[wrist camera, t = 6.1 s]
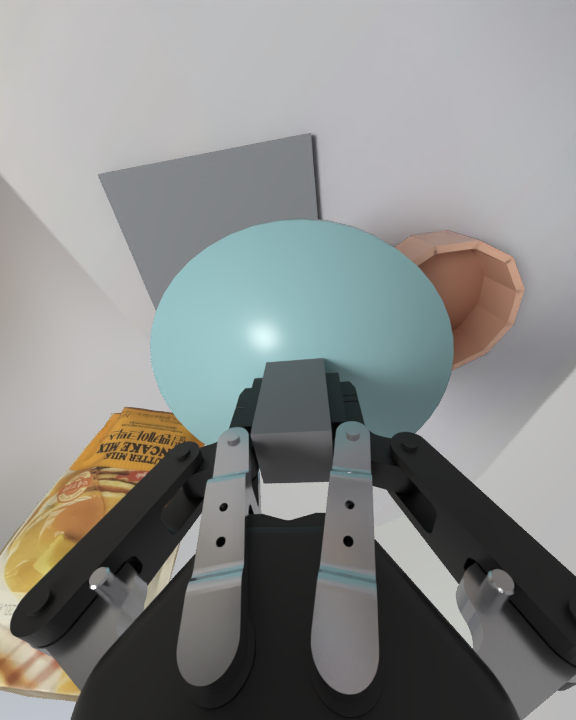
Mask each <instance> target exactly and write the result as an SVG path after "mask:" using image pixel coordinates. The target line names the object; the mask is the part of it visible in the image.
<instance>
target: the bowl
mask: <svg viewBox="0 0 576 720" xmlns="http://www.w3.org/2000/svg"><path fill="white" fill-rule="evenodd" d="M394 248H396V249H397V250H399V251H400V252H401V253H403V254H404V255H405V256H406V257H407V258H408V259H410V260H411V261H412V262H413V263H414V264H416V265H417V266H418V267H419V268H420V270H421V271H422V272H423V273H424V274H425V275H426V277H427V278H428V279H429V280H430V281H431V282H432V284H433V285H434V287H435V289H436V291H437V292H438V294H439V296H440V297H441V299H442V301H443V303H444V306H445V308H446V311H447V313H448V316H449V319H450V323H451V328H452V334H453V346H454V357H453V364H452V370H454V369H456V368H458V367H460V366H462V365H464V364H466V363H468V362H470V361H472V360H474V359H476V358H478V357H480V356H482V355H485V354H487V352H488V351H489V350H490V349H491V348H492V347H493V346H494V345H495V344H496V343H497V342H498V341H499V340H500V339H501V338H502V337H503V335H504V334H505V333H506V332H507V331H508V330H509V329H510V328H511V327H512V326H513V325H514V322H515V319H516V315H517V312H518V309H519V306H520V303H521V300H522V297H523V293H524V290H525V289H524V286H523V283H522V280H521V278H520V275H519V272H518V269H517V266H516V263H515V261H514V258H513V257H512V256H510V255H508V254H506V253H504V252H502V251H500V250H498V249H496V248H494V247H492V246H490V245H488V244H486V243H484V242H482V241H480V240H477V239H474V238H470V237H467V236H464V235H461V234H458V233H455V232H451V231H448V230H445V231H438V232H431V233H424V234H417V235H411V236H409V237H408V238H407V239H405V240H404V241H402V242H401V243H400V244H398V245H397V246H395V247H394Z"/></svg>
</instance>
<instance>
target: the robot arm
mask: <svg viewBox="0 0 576 720" xmlns="http://www.w3.org/2000/svg"><path fill="white" fill-rule="evenodd" d="M325 376H326V385H327V394H328V403H329V412H330V421H331V430H332V447H333V467H332V469H331V471H330V479H329V489H328V497H327V507H326V513H314V514H311V515H307V516H303V517H300V518H297V519H294V520H283V519H279V518H275V517H272V516H268V515H264V514H261V496H260V474H259V464H258V460H257V457H256V453H255V449H254V446H253V442H252V439H251V435H250V434H251V429H252V425H253V420H254V416H255V411H256V407H257V402H258V397H259V393H260V388H261V384H262V379H263V378H254V381H253V385H252V388H245V389H244V390H243V391H242V392H241V394H240V395H239V398H238V401H237V404H236V409H235V411H234V414H233V417H232V420H231V423H230V427H229V429H228V430H226V431H224V432H223V433H222V434H221V435H220V437H219V438H218V441H217V442H215V443H213V444H210V445H207V446H204V447H200V448H199V445H198V444H197V443H195V442H193V441H186V442H183V443H180V444H178V445H176V446H175V447H174V448H173V449H171V450H170V451H169V452H168V453H167V454H166V455H165V456H164V457H163V458H162V459H161V460H160V461H159V462H158V463H157V464H156V465H155V466H154V467H153V468H152V469H151V470H150V471H149V472H148V473H147V474H146V475H145V476H144V477H143V478H142V479H141V480H140V481H139V482H138V483H137V484H136V485H135V486H134V487H133V488H132V489H131V490H130V491H129V492H128V493H127V494H126V495H125V496H124V497H123V498H122V499H121V500H120V501H119V502H118V503H117V504H116V505H115V506H114V507H113V508H112V509H111V510H110V511H109V512H108V513H107V514H106V515H105V516H104V517H103V518H102V519H101V520H100V521H99V522H98V523H97V524H96V525H95V526H94V527H93V528H92V529H91V530H90V531H89V532H88V533H87V534H86V535H85V536H84V537H83V538H82V539H81V540H80V541H79V542H78V543H77V544H76V545H75V546H74V547H73V548H72V549H71V550H70V551H69V552H68V553H67V554H66V555H65V556H64V557H63V558H62V559H61V560H60V561H59V562H58V563H57V564H56V565H55V566H54V567H53V568H52V569H51V570H50V571H49V572H48V573H47V574H46V575H45V576H44V577H43V578H42V579H41V580H40V581H39V582H38V583H37V584H36V585H35V586H34V587H33V588H32V589H31V590H30V591H29V592H28V593H27V594H26V595H25V596H24V597H23V598H22V600H21V601H20V602H19V604H18V605H17V607H16V609H15V611H14V613H13V615H12V618H11V621H10V631H11V633H12V635H13V636H15V637H17V638H19V639H21V640H23V641H25V642H27V643H29V644H30V646H31V647H32V648H34V649H36V650H38V651H40V652H42V653H44V654H46V655H48V656H51V657H53V658H54V659H55V660H56V662H57V663H58V664H59V665H60V667H61V668H62V669H63V670H64V671H65V673H66V674H67V675H68V676H69V678H70V679H71V680H72V681H73V683H74V684H75V685H76V686H77V687H78V689H79V690H80V691H81V692H80V695H79V697H78V700H77V702H76V705H75V707H74V711H73V714H72V717H71V720H523V719H524V718H525V717H526V716H528V715H529V714H530V713H531V712H532V711H533V710H535V708H537V707H538V706H539V705H540V704H542V703H543V702H544V701H545V700H546V699H548V698H549V697H550V696H551V695H552V694H553V693H555V692H556V691H557V690H558V691H562V690H566V689H569V688H570V687H572V686H574V685H576V576H575V575H573V574H572V573H571V572H570V571H569V570H568V569H567V568H566V567H565V566H564V565H562V564H561V563H560V562H559V561H558V560H557V559H556V558H555V557H554V556H552V555H551V554H550V553H549V552H548V551H547V550H546V549H545V548H544V547H543V546H542V545H540V544H539V543H538V542H537V541H536V540H535V539H534V538H533V537H532V536H531V535H529V534H528V533H527V532H526V531H525V530H524V529H523V528H522V527H521V526H519V525H518V524H517V523H516V522H515V521H514V520H513V519H512V518H511V517H510V516H508V515H507V514H506V513H505V512H504V511H503V510H502V509H501V508H499V507H498V506H497V505H496V504H495V503H494V502H493V501H492V500H491V499H490V498H489V497H487V496H486V495H485V494H484V493H483V492H482V491H481V490H480V489H479V488H478V487H476V486H475V485H474V484H473V483H472V482H471V481H470V480H469V479H468V478H466V477H465V476H464V475H463V474H462V473H461V472H460V471H459V470H458V469H457V468H455V467H454V466H453V465H452V464H451V463H450V462H449V461H448V460H447V459H446V458H444V457H443V456H442V455H441V454H440V453H439V452H438V451H437V450H436V449H434V448H433V447H432V446H431V445H430V444H429V443H428V442H427V441H426V440H425V439H423V438H422V437H421V436H419V435H417V434H415V433H411V432H399V433H397V434H395V435H394V436H393V437H392V438H387V437H383V436H379V435H376V434H374V433H372V432H371V431H370V430H368V428H367V427H366V426H365V423H364V420H363V416H362V412H361V408H360V404H359V400H358V396H357V392H356V388H355V386H354V385H353V384H352V383H351V382H350V381H346V382H340V378H339V373H338V372H336V373H325ZM373 486H375V487H379V488H382V489H386V490H387V491H388V493H389V494H390V495H391V497H392V498H393V499H394V501H395V502H396V503H397V505H398V506H399V507H400V508H401V510H402V511H403V512H404V514H405V515H406V516H407V518H408V519H409V520H410V521H411V523H412V524H413V525H414V527H415V528H416V529H417V530H418V532H419V533H420V534H421V536H422V537H423V538H424V539H425V541H426V542H427V543H428V545H429V546H430V547H431V549H432V550H433V551H434V552H435V554H436V555H437V556H438V558H439V559H440V560H441V562H442V563H443V564H444V566H446V568H447V569H448V571H449V572H450V573H451V575H452V576H453V577H454V578H455V580H456V581H457V582H458V584H459V585H458V588H457V591H456V600H457V605H458V608H459V610H460V612H461V614H462V616H463V618H464V619H465V621H466V623H467V625H468V627H469V629H470V632H471V635H472V640H473V649H472V648H471V646H469V644H468V643H467V642H466V641H465V640H464V639H463V637H462V636H461V635H460V634H459V633H458V632H457V631H456V630H455V628H454V627H453V626H452V625H451V624H450V623H449V622H448V621H447V620H446V618H445V617H443V615H442V614H441V613H440V612H439V611H438V609H437V608H436V607H435V606H434V605H433V604H432V603H431V602H430V600H429V599H428V598H427V597H426V596H425V595H424V594H423V593H422V592H421V590H420V589H419V588H418V587H417V586H416V585H415V584H414V582H413V581H412V580H411V579H410V578H409V577H408V576H407V575H406V573H404V571H403V570H402V569H401V568H400V567H399V566H398V564H396V562H395V561H394V560H393V559H392V558H391V557H390V556H389V554H388V553H387V552H386V551H385V550H384V549H383V548H382V547H381V546H380V544H379V543H378V542H377V541H376V540H375V539H374V515H373ZM180 488H181V489H180ZM179 489H180V490H179ZM178 490H179V492H178V493H177V491H178ZM176 493H177V494H176ZM175 494H176V495H175ZM174 495H175V496H174ZM173 496H174V497H173ZM172 497H173V499H172V500H171V498H172ZM170 500H171V501H170ZM169 501H170V502H169ZM168 502H169V503H168ZM167 503H168V504H167ZM166 504H167V506H166V507H165V505H166ZM164 507H165V508H164ZM163 508H164V509H163ZM201 513H202V516H201V523H200V529H199V537H198V543H197V550H196V554H195V555H194V556H193V557H192V558H191V559H190V560H189V561H188V562H187V564H186V565H185V566H184V567H183V568H182V569H181V570H180V571H179V572H178V573H177V574H176V575H175V577H174V578H173V579H172V580H171V581H170V582H169V583H168V584H167V585H166V586H165V588H164V589H163V590H162V591H161V592H160V593H159V594H158V595H157V596H156V597H155V599H154V600H153V601H152V602H151V603H150V604H149V605H148V606H147V607H146V608H145V610H144V603H145V600H146V597H147V591H148V588H147V586H148V585H149V583H150V582H151V581H152V579H153V578H154V577H155V575H156V574H157V572H158V571H159V570H160V568H161V567H162V566H163V564H164V563H165V562H166V560H167V559H168V558H169V556H170V555H171V553H172V552H173V551H174V549H175V548H176V547H177V545H178V544H179V543H180V541H181V540H182V538H183V537H184V536H185V534H186V533H187V532H188V530H189V529H190V528H191V526H192V525H193V523H194V522H195V521H196V519H197V518H198V517H199V515H200V514H201ZM143 610H144V611H143Z"/></svg>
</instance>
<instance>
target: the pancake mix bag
mask: <svg viewBox="0 0 576 720" xmlns="http://www.w3.org/2000/svg"><path fill="white" fill-rule="evenodd" d="M186 441H193V442H195V443H197V444H198V445H199V448H200V447H204V445H205V444H204V443H203V442H201V441H200V440H198V439H197V438H196V437H195V436H194V435H193V434H192V433H190V432H189V431H188V430H187V429H186V428H185V427H184V426H183V424H182V423H181V422H180V421H179V420H178V419H177V418H176V416H175V415H174V414H173V413H170V412H163V411H153V410H147V409H141V408H132V407H125V408H124V409H123V411H122V413H115V414H111V416H110V418H109V420H108V421H107V423H106V425H105V426H104V428H102V429H101V431H99V433H97V435H96V436H95V437H94V438H93V439H92V440H91V442H90V443H89V444H88V445H87V446H86V447H85V448H84V450H83V451H82V452H81V453H80V455H79V456H78V457H77V458H76V460H75V461H74V462H73V463H72V464H71V466H70V467H69V468H68V469H67V470H66V472H65V473H64V474H63V475H62V476H61V477H60V478H59V479H58V480H57V482H56V483H55V484H54V485H53V487H52V488H51V489H50V490H49V491H48V492H47V494H46V495H45V496H44V497H43V498H42V499H41V500H40V501H39V503H38V504H37V505H36V507H35V508H34V509H33V511H32V512H31V514H30V515H29V516H28V518H27V519H26V520H25V521H24V522H23V524H22V525H21V526H20V527H19V528H18V529H17V530H16V532H15V533H14V535H13V536H12V537H11V539H10V540H9V541H8V542H7V544H6V545H5V547H4V548H3V550H2V551H1V552H0V690H2V691H6V692H11V693H15V694H19V695H23V696H27V697H36V698H43V699H54V700H65V701H75V702H77V700H78V697H79V695H80V692H81V691H80V690H79V689H78V687H77V686H76V685H75V684H74V683H73V681H72V680H71V679H70V678H69V676H68V675H67V674H66V673H65V671H64V670H63V669H62V668H61V667H60V665H59V664H58V663H57V662H56V660H55V659H54V658H53V657H51V656H48V655H46V654H44V653H42V652H40V651H38V650H36V649H34V648H32V647H31V646H30V644H29V643H27V642H25V641H23V640H21V639H19V638H17V637H15V636H13V635H12V633H11V631H10V621H11V618H12V615H13V613H14V611H15V609H16V607H17V605H18V604H19V602H20V601H21V600H22V598H23V597H24V596H25V595H26V594H27V593H28V592H29V591H30V590H31V589H32V588H33V587H34V586H35V585H36V584H37V583H38V582H39V581H40V580H41V579H42V578H43V577H44V576H45V575H46V574H47V573H48V572H49V571H50V570H51V569H52V568H53V567H54V566H55V565H56V564H57V563H58V562H59V561H60V560H61V559H62V558H63V557H64V556H65V555H66V554H67V553H68V552H69V551H70V550H71V549H72V548H73V547H74V546H75V545H76V544H77V543H78V542H79V541H80V540H81V539H82V538H83V537H84V536H85V535H86V534H87V533H88V532H89V531H90V530H91V529H92V528H93V527H94V526H95V525H96V524H97V523H98V522H99V521H100V520H101V519H102V518H103V517H104V516H105V515H106V514H107V513H108V512H109V511H110V510H111V509H112V508H113V507H114V506H115V505H116V504H117V503H118V502H119V501H120V500H121V499H122V498H123V497H124V496H125V495H126V494H127V493H128V492H129V491H130V490H131V489H132V488H133V487H134V486H135V485H136V484H137V483H138V482H139V481H140V480H141V479H142V478H143V477H144V476H145V475H146V474H147V473H148V472H149V471H150V470H151V469H152V468H153V467H154V466H155V465H156V464H157V463H158V462H159V461H160V460H161V459H162V458H163V457H164V456H165V455H166V454H167V453H168V452H169V451H170V450H171V449H173V448H174V447H175V446H176V445H178V444H180V443H183V442H186ZM180 489H181V488H180ZM180 489H179V490H180ZM179 490H178V491H177V493H178V492H179ZM177 493H176V494H177ZM176 494H175V495H176ZM175 495H174V496H175ZM174 496H173V497H174ZM173 497H172V498H171V500H172V499H173ZM171 500H170V501H171ZM170 501H169V502H170ZM169 502H168V503H169ZM168 503H167V504H168ZM167 504H166V505H165V507H166V506H167ZM165 507H164V508H165ZM164 508H163V509H164ZM179 545H180V543H179V544H178V545H177V547H176V548H175V549H174V551H173V552H172V553H171V555H170V556H169V558H168V559H167V560H166V562H165V563H164V564H163V566H162V567H161V568H160V570H159V571H158V572H157V574H156V575H155V577H154V578H153V579H152V581H151V582H150V583H149V585H148V586H147V588H148V591H147V597H146V600H145V603H144V610H145V608H146V607H147V606H148V605H149V604H150V603H151V602H152V601H153V600H154V599H155V597H156V596H157V595H158V594H159V593H160V592H161V591H162V590H163V589H164V588H165V586H166V585H167V584H168V583H169V581H170V577H171V574H172V571H173V567H174V563H175V560H176V556H177V552H178V548H179ZM144 610H143V611H144Z"/></svg>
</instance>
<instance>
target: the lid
mask: <svg viewBox="0 0 576 720" xmlns="http://www.w3.org/2000/svg"><path fill="white" fill-rule="evenodd" d="M150 349H151V363H152V367H153V371H154V376H155V379H156V382H157V384H158V387H159V390H160V392H161V394H162V396H163V398H164V400H165V401H166V403H167V405H168V407H169V408H170V409H171V411H172V412H173V414H174V415H175V416H176V418H177V419H178V420H179V421H180V422H181V423H182V424H183V426H184V427H185V428H186V429H187V430H188V431H189V432H190V433H192V434H193V435H194V436H195V437H196V438H197V439H198V440H200V441H201V442H203V443H204V444H206V445H210V444H213V443H215V442H217V441H218V438H219V437H220V435H221V434H222V433H223V432H224V431H226V430H228V429H229V427H230V423H231V420H232V417H233V414H234V411H235V409H236V404H237V401H238V398H239V395H240V394H241V392H242V391H243V390H244V389H245V388H252V385H253V381H254V378H263V379H262V384H261V388H260V393H259V397H258V402H257V407H256V411H255V416H254V420H253V425H252V429H251V434H250V435H251V439H252V442H253V446H254V449H255V453H256V457H257V460H258V464H259V469H260V471H261V475H262V478H263V482H264V483H299V482H329V479H330V471H331V469H332V467H333V447H332V430H331V421H330V412H329V403H328V394H327V385H326V376H325V373H336V372H338V373H339V378H340V382H346V381H350V382H351V383H352V384H353V385H354V386H355V388H356V392H357V396H358V400H359V404H360V408H361V412H362V416H363V420H364V423H365V426H366V427H367V428H368V430H370V431H371V432H372V433H374V434H376V435H379V436H383V437H387V438H392V437H393V436H394V435H395V434H397V433H399V432H411V433H416V432H417V431H418V430H419V429H420V428H421V427H422V426H423V425H424V423H425V422H426V421H427V420H428V419H429V418H430V416H431V415H432V413H433V412H434V410H435V409H436V407H437V406H438V404H439V403H440V401H441V399H442V396H443V394H444V392H445V390H446V388H447V385H448V381H449V378H450V375H451V371H452V364H453V357H454V346H453V334H452V328H451V323H450V319H449V316H448V313H447V311H446V308H445V306H444V303H443V301H442V299H441V297H440V296H439V294H438V292H437V291H436V289H435V287H434V285H433V284H432V282H431V281H430V280H429V279H428V278H427V277H426V275H425V274H424V273H423V272H422V271H421V270H420V268H419V267H418V266H417V265H416V264H414V263H413V262H412V261H411V260H410V259H408V258H407V257H406V256H405V255H404V254H403V253H401V252H400V251H399V250H397V249H396V248H394V247H393V246H391V245H389V244H388V243H386V242H384V241H383V240H381V239H379V238H378V237H376V236H374V235H372V234H370V233H367V232H365V231H362V230H360V229H357V228H355V227H353V226H349V225H345V224H341V223H337V222H332V221H328V220H318V219H307V218H298V219H281V220H275V221H270V222H265V223H260V224H255V225H253V226H250V227H247V228H244V229H242V230H239V231H236V232H234V233H232V234H230V235H228V236H226V237H225V238H223V239H221V240H219V241H217V242H216V243H214V244H212V245H210V246H209V247H207V248H206V249H205V250H203V251H202V252H201V253H199V254H198V255H197V256H196V257H194V258H193V259H192V260H190V261H189V262H188V263H187V264H186V265H185V267H184V268H183V269H182V270H181V271H180V272H179V273H178V274H177V275H176V276H175V277H174V279H173V280H172V282H171V284H170V285H169V287H168V288H167V290H166V291H165V293H164V294H163V297H162V299H161V301H160V303H159V306H158V308H157V310H156V313H155V317H154V321H153V325H152V330H151V342H150Z"/></svg>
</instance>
